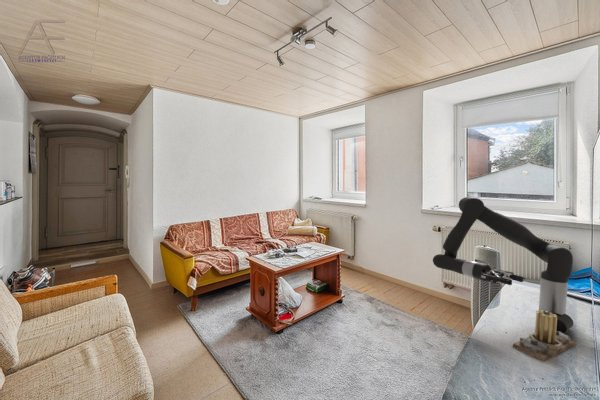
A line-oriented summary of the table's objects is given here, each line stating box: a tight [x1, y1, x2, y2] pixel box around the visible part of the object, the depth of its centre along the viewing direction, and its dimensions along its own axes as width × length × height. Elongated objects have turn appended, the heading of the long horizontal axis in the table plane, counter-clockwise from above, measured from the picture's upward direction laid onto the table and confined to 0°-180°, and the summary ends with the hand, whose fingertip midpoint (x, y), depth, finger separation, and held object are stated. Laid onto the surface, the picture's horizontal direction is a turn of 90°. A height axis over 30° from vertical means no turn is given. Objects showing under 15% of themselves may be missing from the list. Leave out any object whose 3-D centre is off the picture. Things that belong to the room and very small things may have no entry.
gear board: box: [512, 331, 577, 362], centre depth 100 cm, size 25×9×4 cm, turn 116°
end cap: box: [551, 312, 574, 334], centre depth 111 cm, size 10×7×7 cm
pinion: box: [534, 309, 557, 345], centre depth 100 cm, size 6×6×12 cm
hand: (517, 281), depth 108 cm, fingers open, 8 cm apart
